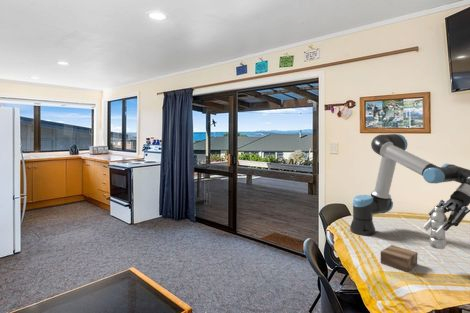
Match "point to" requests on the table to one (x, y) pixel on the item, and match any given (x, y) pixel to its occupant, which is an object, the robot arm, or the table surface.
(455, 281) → the table surface
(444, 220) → the plastic bottle
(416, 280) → the table surface
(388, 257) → the walnut block
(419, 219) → the table surface
